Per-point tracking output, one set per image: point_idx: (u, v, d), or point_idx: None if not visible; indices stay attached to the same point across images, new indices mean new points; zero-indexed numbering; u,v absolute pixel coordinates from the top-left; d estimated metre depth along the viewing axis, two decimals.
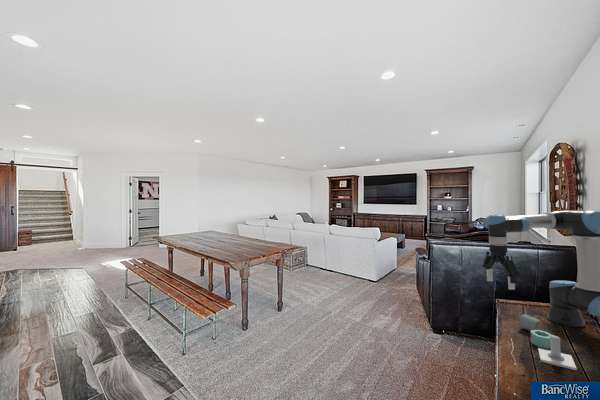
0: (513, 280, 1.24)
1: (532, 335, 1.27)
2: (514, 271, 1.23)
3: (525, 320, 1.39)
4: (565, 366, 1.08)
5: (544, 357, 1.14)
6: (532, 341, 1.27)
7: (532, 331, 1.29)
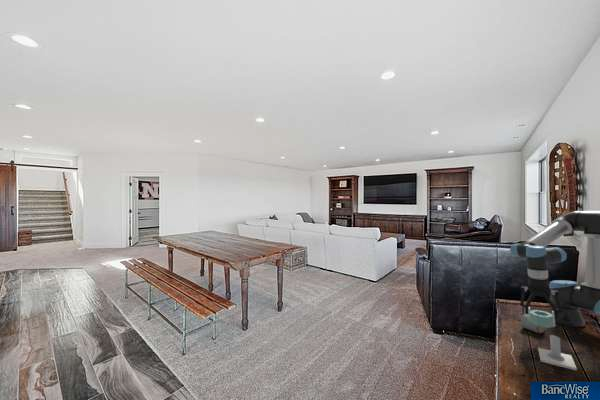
0: (557, 316, 1.22)
1: (532, 315, 1.27)
2: (561, 307, 1.21)
3: (527, 320, 1.39)
4: (565, 366, 1.08)
5: (544, 357, 1.14)
6: (532, 321, 1.27)
7: (531, 311, 1.29)
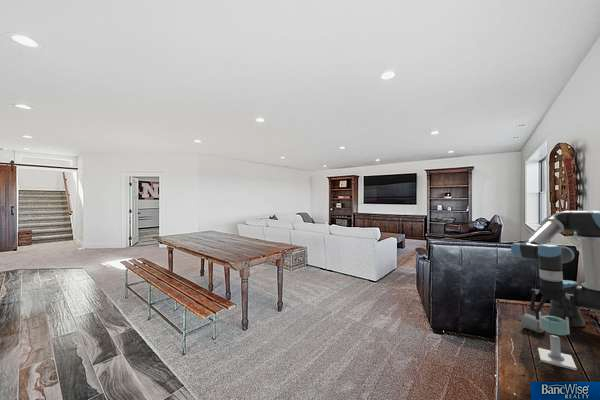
0: None
1: (543, 321, 1.15)
2: (577, 313, 1.09)
3: (527, 319, 1.39)
4: (565, 366, 1.08)
5: (544, 357, 1.14)
6: (543, 327, 1.15)
7: (543, 316, 1.17)
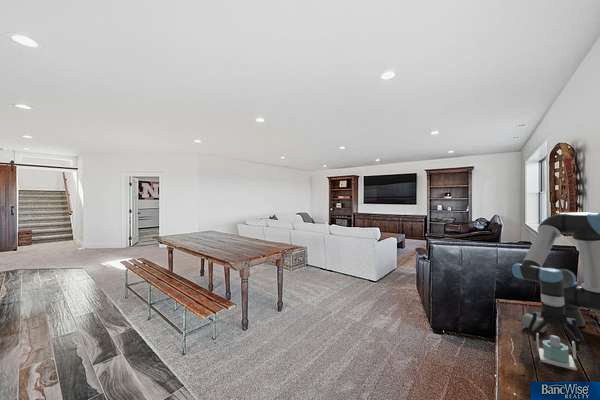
0: None
1: (544, 346, 1.15)
2: (582, 337, 1.08)
3: (528, 319, 1.39)
4: (565, 366, 1.08)
5: (544, 357, 1.14)
6: (544, 353, 1.15)
7: (544, 342, 1.16)
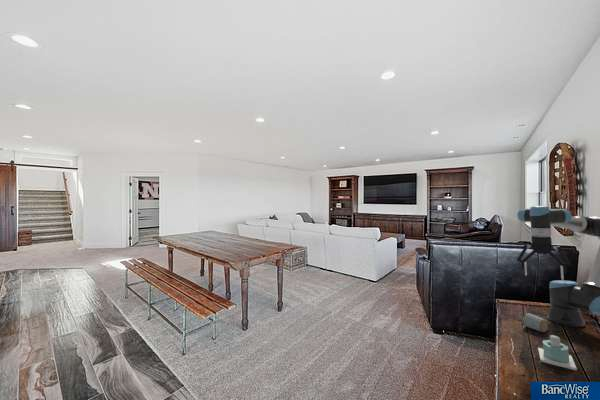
0: (566, 270, 1.25)
1: (544, 346, 1.15)
2: (568, 260, 1.24)
3: (529, 319, 1.40)
4: (565, 366, 1.08)
5: (544, 357, 1.14)
6: (544, 353, 1.15)
7: (544, 342, 1.16)
